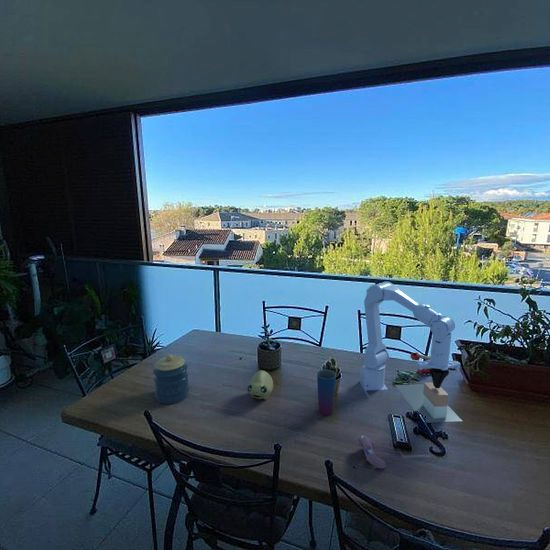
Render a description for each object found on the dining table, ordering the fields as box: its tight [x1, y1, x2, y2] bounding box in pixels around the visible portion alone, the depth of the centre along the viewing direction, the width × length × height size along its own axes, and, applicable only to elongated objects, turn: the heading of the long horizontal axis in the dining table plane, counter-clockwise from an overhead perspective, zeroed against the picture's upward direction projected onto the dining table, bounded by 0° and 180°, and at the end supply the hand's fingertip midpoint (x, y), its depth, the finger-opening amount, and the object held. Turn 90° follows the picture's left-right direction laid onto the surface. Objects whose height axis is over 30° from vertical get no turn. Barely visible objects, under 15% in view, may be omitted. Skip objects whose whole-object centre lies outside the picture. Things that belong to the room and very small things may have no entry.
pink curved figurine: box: [356, 434, 386, 470], centre depth 96 cm, size 10×5×7 cm, turn 5°
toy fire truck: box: [410, 351, 431, 376], centre depth 144 cm, size 3×14×10 cm, turn 84°
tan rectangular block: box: [423, 381, 449, 407], centre depth 116 cm, size 4×8×4 cm, turn 2°
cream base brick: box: [422, 394, 447, 418], centre depth 117 cm, size 4×8×4 cm, turn 3°
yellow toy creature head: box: [247, 369, 274, 401], centre depth 127 cm, size 10×12×11 cm
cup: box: [316, 369, 337, 417], centre depth 117 cm, size 7×7×15 cm
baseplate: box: [394, 383, 463, 424], centre depth 124 cm, size 14×24×1 cm, turn 3°
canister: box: [152, 353, 190, 405], centre depth 128 cm, size 13×13×18 cm
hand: (436, 386), depth 116 cm, fingers closed
